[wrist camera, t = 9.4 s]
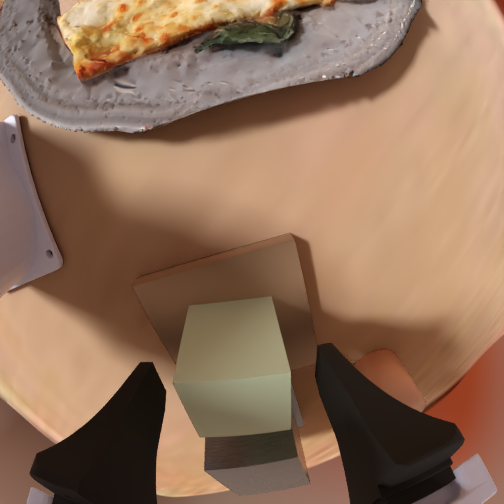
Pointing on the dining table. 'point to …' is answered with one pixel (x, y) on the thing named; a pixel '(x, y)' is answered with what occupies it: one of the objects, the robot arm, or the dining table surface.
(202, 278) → the pad
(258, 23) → the food plate
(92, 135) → the dining table surface
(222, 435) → the sage block
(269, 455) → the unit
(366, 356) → the terracotta cylinder
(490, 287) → the dining table surface
